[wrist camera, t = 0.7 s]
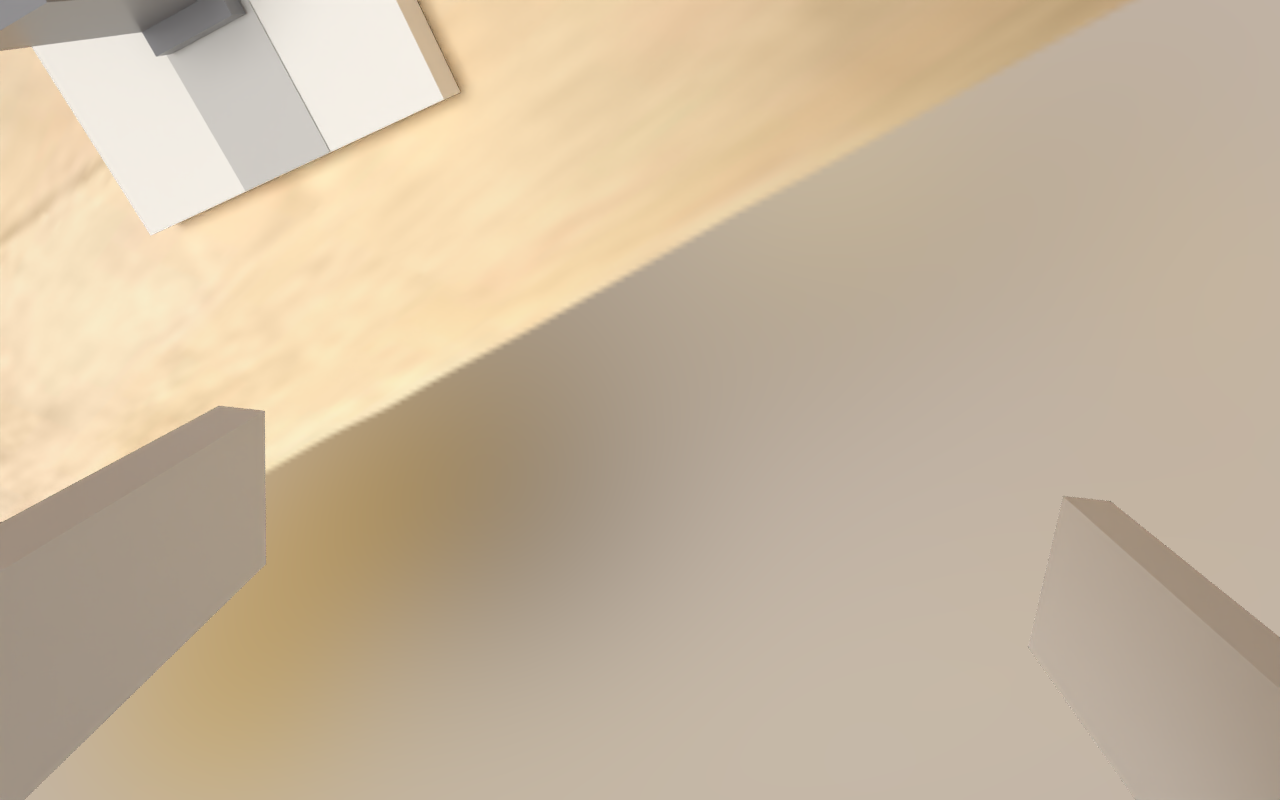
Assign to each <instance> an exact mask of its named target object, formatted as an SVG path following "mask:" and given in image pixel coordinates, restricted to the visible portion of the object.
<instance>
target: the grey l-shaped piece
mask: <svg viewBox="0 0 1280 800" xmlns="http://www.w3.org/2000/svg"><path fill="white" fill-rule="evenodd" d="M245 14H246V12H245V10H244V9H243V7H242V5H241V3H240V1H239V0H0V51H2V50H10V49H17V48H25V47H33V46H40V45H48V44H56V43H63V42H71V41H79V40H86V39H94V38H102V37H109V36H117V35H125V34H132V33H140V32H142V33H143V35H144V37H145V38H146V40H147V42H148V44H149V45H150V47H151V49H152V50H153V52H154V54H155V56H156V57H158V56H164V55H170V54H173V53H175V52H176V51H178V50H180V49H182V48H184V47H186V46H187V45H189V44H191V43H193V42H195V41H197V40H199V39H200V38H202V37H204V36H206V35H208V34H210V33H211V32H213V31H215V30H217V29H219V28H221V27H222V26H224V25H226V24H228V23H230V22H232V21H234V20H235V19H237V18H239V17H241V16H243V15H245Z"/></svg>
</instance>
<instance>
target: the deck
mask: <svg viewBox="0 0 1280 800" xmlns="http://www.w3.org/2000/svg"><path fill="white" fill-rule="evenodd" d="M239 1H240V3H241V5H242V7H243V9H244V10H245V12H246V14H245V15H243V16H241V17H239V18H237V19H235V20H234V21H232V22H230V23H228V24H226V25H224V26H222V27H221V28H219V29H217V30H215V31H213V32H211V33H210V34H208V35H206V36H204V37H202V38H200V39H199V40H197V41H195V42H193V43H191V44H189V45H187V46H186V47H184V48H182V49H180V50H178V51H176V52H175V53H173V54H170V55H164V56H158V57H156V56H155V54H154V52H153V50H152V49H151V47H150V45H149V44H148V42H147V40H146V38H145V37H144V35H143V33H142V32H140V33H132V34H125V35H117V36H109V37H102V38H94V39H86V40H79V41H71V42H63V43H56V44H48V45H40V46H33V47H32V48H33V50H34V51H35V53H36V55H37V56H38V58H39V59H40V61H41V62H42V64H43V66H44V67H45V69H46V70H47V72H48V74H49V75H50V77H51V78H52V80H53V81H54V83H55V85H56V86H57V88H58V89H59V91H60V93H61V94H62V96H63V97H64V99H65V100H66V102H67V104H68V105H69V107H70V108H71V110H72V112H73V113H74V115H75V116H76V118H77V120H78V121H79V123H80V124H81V126H82V127H83V129H84V131H85V132H86V134H87V135H88V137H89V139H90V140H91V142H92V143H93V145H94V146H95V148H96V150H97V151H98V153H99V154H100V156H101V158H102V159H103V161H104V162H105V164H106V165H107V167H108V169H109V170H110V172H111V173H112V175H113V177H114V178H115V180H116V181H117V183H118V185H119V186H120V188H121V189H122V191H123V192H124V194H125V196H126V197H127V199H128V200H129V202H130V204H131V205H132V207H133V208H134V210H135V211H136V213H137V215H138V216H139V218H140V219H141V221H142V223H143V224H144V226H145V227H146V229H147V230H148V232H149V234H150V235H153V234H155V233H158V232H160V231H162V230H165V229H167V228H169V227H171V226H174V225H176V224H178V223H180V222H182V221H185V220H187V219H189V218H191V217H193V216H195V215H197V214H200V213H202V212H204V211H206V210H208V209H210V208H213V207H215V206H217V205H219V204H221V203H223V202H225V201H228V200H230V199H232V198H234V197H236V196H238V195H241V194H243V193H245V192H247V191H249V190H251V189H253V188H256V187H258V186H260V185H262V184H264V183H266V182H268V181H271V180H273V179H275V178H277V177H279V176H281V175H284V174H286V173H288V172H290V171H292V170H294V169H296V168H299V167H301V166H303V165H305V164H307V163H309V162H312V161H314V160H316V159H318V158H320V157H322V156H324V155H327V154H329V153H331V152H333V151H335V150H337V149H340V148H342V147H344V146H346V145H348V144H350V143H352V142H355V141H357V140H359V139H361V138H363V137H365V136H367V135H370V134H372V133H374V132H376V131H378V130H380V129H383V128H385V127H387V126H389V125H391V124H393V123H395V122H398V121H400V120H402V119H404V118H406V117H408V116H411V115H413V114H415V113H417V112H419V111H421V110H423V109H426V108H428V107H430V106H432V105H434V104H436V103H439V102H441V101H443V100H445V99H447V98H449V97H451V96H454V95H456V94H458V93H460V90H459V88H458V86H457V84H456V82H455V79H454V77H453V75H452V73H451V71H450V69H449V67H448V65H447V63H446V60H445V58H444V56H443V54H442V52H441V50H440V48H439V46H438V44H437V41H436V39H435V37H434V35H433V33H432V31H431V29H430V27H429V25H428V22H427V20H426V18H425V16H424V14H423V12H422V10H421V8H420V6H419V4H418V1H417V0H239Z"/></svg>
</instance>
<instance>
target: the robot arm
mask: <svg viewBox="0 0 1280 800" xmlns="http://www.w3.org/2000/svg"><path fill="white" fill-rule="evenodd" d="M265 511H266V510H265V411H262V410H252V409H243V408H234V407H224V406H218V407H216V408H214V409H212V410H210V411H208V412H207V413H205V414H203V415H201V416H199V417H197V418H195V419H194V420H192V421H190V422H188V423H186V424H184V425H182V426H180V427H179V428H177V429H175V430H173V431H171V432H169V433H167V434H166V435H164V436H162V437H160V438H158V439H156V440H154V441H152V442H151V443H149V444H147V445H145V446H143V447H141V448H139V449H138V450H136V451H134V452H132V453H130V454H128V455H126V456H125V457H123V458H121V459H119V460H117V461H115V462H113V463H111V464H110V465H108V466H106V467H104V468H102V469H100V470H98V471H97V472H95V473H93V474H91V475H89V476H87V477H85V478H84V479H82V480H80V481H78V482H76V483H74V484H72V485H70V486H69V487H67V488H65V489H63V490H61V491H59V492H57V493H56V494H54V495H52V496H50V497H48V498H46V499H44V500H43V501H41V502H39V503H37V504H35V505H33V506H31V507H29V508H28V509H26V510H24V511H22V512H20V513H18V514H16V515H15V516H13V517H11V518H9V519H7V520H5V521H3V522H0V800H25V799H26V798H27V797H28V796H29V795H30V794H31V793H32V792H33V791H34V790H35V789H36V788H37V787H38V786H39V785H40V784H41V783H42V782H43V781H44V780H45V779H46V778H47V777H48V776H49V775H50V774H51V773H52V772H53V771H54V770H55V769H56V768H57V767H58V766H59V765H61V764H62V763H63V761H65V760H66V758H68V757H69V756H70V755H71V754H72V753H73V752H74V751H75V750H76V749H77V748H78V747H79V746H80V745H81V744H82V743H83V742H84V741H85V740H86V739H87V738H88V737H89V736H90V735H91V734H92V733H93V732H94V731H95V730H96V729H97V728H98V727H99V726H100V725H101V724H103V723H104V722H105V721H106V720H107V719H108V718H109V717H110V716H111V715H112V714H113V713H114V712H115V711H116V710H117V709H118V708H119V707H120V706H121V705H122V704H123V703H124V702H125V701H126V700H127V699H128V698H129V697H130V696H131V695H132V694H133V693H134V692H135V691H136V690H137V689H138V688H139V687H140V686H141V685H142V684H143V683H144V682H146V681H147V679H149V678H150V677H151V676H152V675H153V674H154V673H155V672H156V671H157V670H158V669H159V668H160V667H161V666H162V665H163V664H164V663H165V662H166V661H167V660H168V659H169V658H170V657H171V656H172V655H173V654H174V653H175V652H176V651H177V650H178V649H179V648H180V647H181V646H182V645H183V644H184V643H185V642H187V641H188V640H189V639H190V638H191V637H192V636H193V635H194V634H195V633H196V632H197V631H198V630H199V629H200V628H201V627H202V626H203V625H204V624H205V623H206V622H207V621H208V620H209V619H210V618H211V617H212V616H213V615H214V614H215V613H216V612H217V611H218V610H219V609H220V608H221V607H222V606H223V605H224V604H225V603H226V602H227V601H228V600H230V598H232V596H234V595H235V593H237V592H238V591H239V590H240V589H241V588H242V587H243V586H244V585H245V584H246V583H247V582H248V581H249V580H250V579H251V578H252V577H253V576H254V575H255V574H256V573H257V572H258V571H259V570H260V569H261V568H262V567H263V566H264V565H265V564H266V519H265V518H266V515H265V514H266V512H265ZM1028 648H1029V650H1030V651H1031V652H1032V654H1033V655H1034V657H1035V658H1036V660H1037V661H1038V662H1039V664H1040V665H1041V667H1042V668H1043V669H1044V671H1045V672H1046V674H1047V675H1048V677H1049V678H1050V679H1051V681H1052V682H1053V684H1054V685H1055V687H1056V688H1057V689H1058V691H1059V692H1060V694H1061V695H1062V696H1063V698H1064V699H1065V701H1066V702H1067V704H1068V705H1069V706H1070V708H1071V709H1072V711H1073V712H1074V713H1075V715H1076V716H1077V718H1078V719H1079V721H1080V722H1081V723H1082V725H1083V726H1084V728H1085V729H1086V730H1087V732H1088V733H1089V735H1090V736H1091V738H1092V739H1093V740H1094V742H1095V743H1096V745H1097V746H1098V748H1099V749H1100V750H1101V752H1102V753H1103V755H1104V756H1105V757H1106V759H1107V760H1108V762H1109V763H1110V764H1111V766H1112V767H1113V769H1114V770H1115V772H1116V773H1117V775H1118V776H1119V777H1120V779H1121V780H1122V782H1123V783H1124V784H1125V786H1126V787H1127V788H1128V790H1129V791H1130V793H1131V794H1132V796H1133V797H1134V799H1135V800H1280V637H1279V636H1277V635H1276V634H1275V633H1273V631H1271V630H1270V629H1269V628H1268V627H1266V626H1265V625H1264V624H1263V623H1261V622H1260V621H1259V620H1258V619H1256V618H1255V617H1254V616H1253V615H1251V614H1250V613H1249V612H1248V611H1246V610H1245V609H1244V608H1243V607H1242V606H1240V605H1239V604H1238V603H1236V602H1235V601H1234V600H1233V599H1232V598H1230V597H1229V596H1228V595H1227V594H1225V593H1224V592H1223V591H1222V590H1220V589H1219V588H1218V587H1217V586H1215V585H1214V584H1213V583H1212V582H1210V581H1209V580H1208V579H1207V578H1205V577H1204V576H1203V575H1202V574H1200V573H1199V572H1198V571H1197V570H1195V569H1194V568H1193V567H1192V566H1190V565H1189V564H1188V563H1187V562H1185V561H1184V560H1183V559H1182V558H1181V557H1179V556H1178V555H1177V554H1176V553H1174V552H1173V551H1172V550H1171V549H1169V548H1168V547H1167V546H1166V545H1164V544H1163V543H1162V542H1161V541H1159V540H1158V539H1157V538H1156V537H1154V536H1153V535H1152V534H1151V533H1149V532H1148V531H1147V530H1146V529H1144V528H1143V527H1142V526H1141V525H1140V524H1138V523H1137V522H1136V521H1135V520H1133V519H1132V518H1131V517H1130V516H1128V515H1127V514H1126V513H1124V512H1123V511H1122V510H1121V509H1119V508H1118V507H1117V506H1116V505H1115V504H1113V503H1112V502H1111V501H1104V500H1094V499H1086V498H1076V497H1066V496H1063V499H1062V503H1061V507H1060V512H1059V516H1058V521H1057V525H1056V529H1055V533H1054V538H1053V542H1052V546H1051V551H1050V555H1049V559H1048V564H1047V568H1046V573H1045V577H1044V581H1043V586H1042V590H1041V594H1040V598H1039V603H1038V607H1037V611H1036V616H1035V620H1034V625H1033V629H1032V634H1031V637H1030V642H1029V646H1028Z"/></svg>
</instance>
